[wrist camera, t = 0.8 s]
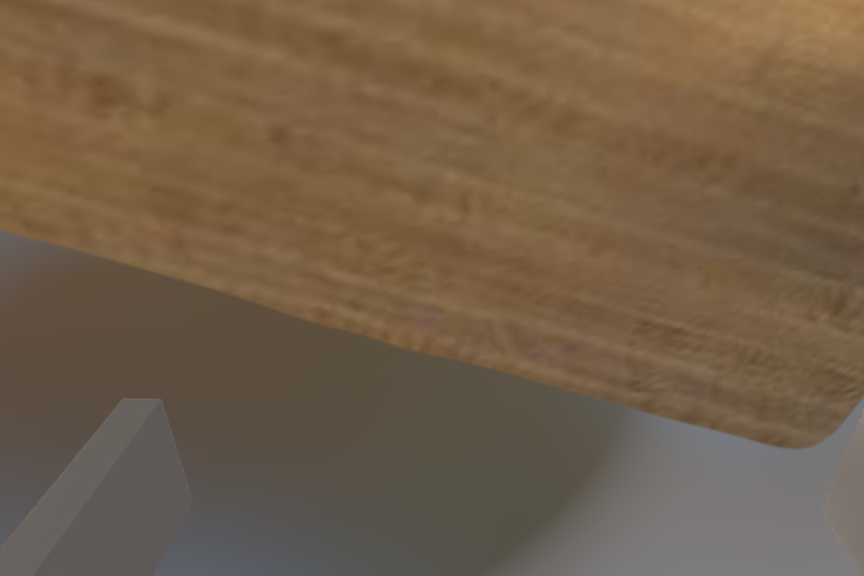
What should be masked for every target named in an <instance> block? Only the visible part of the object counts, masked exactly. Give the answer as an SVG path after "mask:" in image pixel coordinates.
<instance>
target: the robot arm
mask: <svg viewBox="0 0 864 576" xmlns="http://www.w3.org/2000/svg"><path fill="white" fill-rule="evenodd" d="M192 501H193V498H192V495H191V492H190V489H189V486H188V483H187V480H186V476H185V473H184V470H183V467H182V463H181V460H180V457H179V454H178V451H177V448H176V444H175V441H174V438H173V435H172V432H171V428H170V425H169V422H168V419H167V416H166V412H165V409H164V406H163V403H162V400H161V399H122V400H121V402H120V403H119V404H118V405H117V406H116V408H115V409H114V410H113V411H112V413H111V414H110V415H109V416H108V417H107V419H106V420H105V421H104V422H103V424H102V425H101V426H100V427H99V429H98V430H97V431H96V432H95V433H94V435H93V436H92V437H91V438H90V439H89V441H88V442H87V443H86V444H85V446H84V447H83V448H82V449H81V450H80V452H79V453H78V454H77V455H76V457H75V458H74V459H73V460H72V461H71V463H70V464H69V465H68V466H67V468H66V469H65V470H64V471H63V473H62V474H61V475H60V476H59V477H58V479H57V480H56V481H55V482H54V483H53V485H52V486H51V487H50V488H49V490H48V491H47V492H46V493H45V495H44V496H43V497H42V498H41V499H40V501H39V502H38V503H37V504H36V506H35V507H34V508H33V509H32V510H31V512H30V513H29V514H28V515H27V517H26V518H25V519H24V520H23V521H22V523H21V524H20V525H19V526H18V528H17V529H16V530H15V531H14V532H13V533H12V535H11V536H10V537H9V538H8V540H7V541H6V542H5V543H4V545H3V546H2V547H1V548H0V576H153V575H154V573H155V571H156V569H157V567H158V566H159V564H160V562H161V560H162V558H163V556H164V553H165V552H166V550H167V548H168V546H169V544H170V542H171V541H172V539H173V537H174V535H175V533H176V531H177V529H178V527H179V525H180V523H181V522H182V520H183V518H184V516H185V514H186V512H187V510H188V508H189V506H190V504H191V502H192ZM821 513H822V514H823V516H824V517H825V519H826V520H827V522H828V523H829V525H830V526H831V528H832V529H833V531H834V532H835V534H836V535H837V537H838V538H839V540H840V541H841V542H842V544H843V546H844V547H845V549H846V550H847V551H848V553H849V554H850V556H851V557H852V559H853V560H854V562H855V563H856V565H857V566H858V567H859V569H860V570H861V572H862V574H863V575H864V409H863V412H862V414H861V417H860V419H859V422H858V424H857V426H856V429H855V431H854V434H853V436H852V438H851V441H850V443H849V446H848V448H847V450H846V453H845V455H844V458H843V460H842V462H841V465H840V467H839V470H838V472H837V474H836V477H835V479H834V482H833V484H832V487H831V489H830V491H829V494H828V496H827V498H826V501H825V503H824V506H823V508H822V510H821Z"/></svg>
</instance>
